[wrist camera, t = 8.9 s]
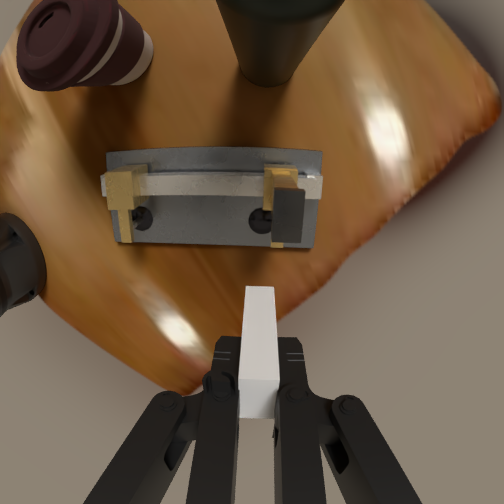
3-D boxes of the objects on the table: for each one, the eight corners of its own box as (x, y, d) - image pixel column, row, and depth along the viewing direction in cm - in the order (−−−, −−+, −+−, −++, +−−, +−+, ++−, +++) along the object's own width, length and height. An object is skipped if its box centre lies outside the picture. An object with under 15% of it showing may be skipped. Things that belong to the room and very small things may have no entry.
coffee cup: (161, 93, 27) (90, 77, 14) (87, 100, 27) (-3, 102, 14) (170, 14, 23) (114, -43, 10) (95, 27, 23) (16, -2, 9)
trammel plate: (118, 238, 35) (96, 259, 29) (109, 151, 30) (83, 159, 25) (311, 244, 34) (321, 268, 29) (320, 150, 30) (333, 157, 24)
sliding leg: (261, 231, 32) (261, 290, 21) (263, 162, 29) (266, 186, 18) (288, 232, 32) (302, 291, 21) (293, 164, 29) (313, 189, 18)
